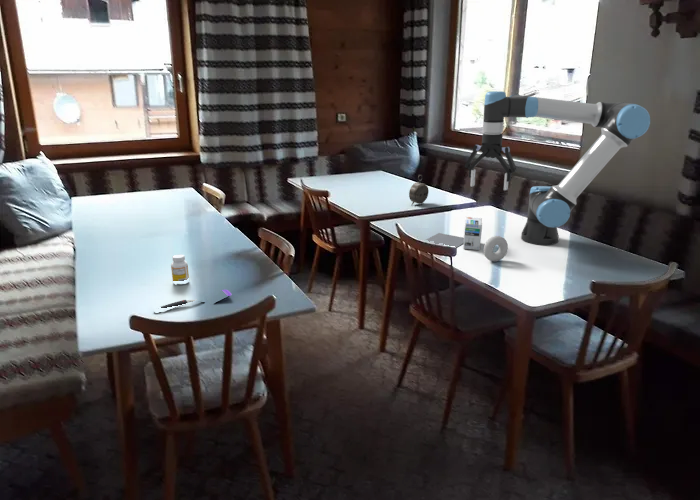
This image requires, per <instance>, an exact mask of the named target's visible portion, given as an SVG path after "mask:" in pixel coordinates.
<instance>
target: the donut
mask: <svg viewBox="0 0 700 500" xmlns="http://www.w3.org/2000/svg"><path fill="white" fill-rule="evenodd" d="M497 245H498V249H497V250H496V252H494V251H493V250H494V247H495V246H497ZM508 250H509V245H508V242H507V240H506V239H505V238H504V237H503V236H500V235H494V236H491V237H489V238H488V239H487V240H486V242H485V244H484V245H483V255H484V257H485V259H487V261H491V262H498V261H501V260H502V259H504V257H505V256H506V255H507V253H508Z"/></svg>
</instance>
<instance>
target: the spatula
mask: <svg viewBox="0 0 700 500" xmlns="http://www.w3.org/2000/svg"><path fill="white" fill-rule="evenodd" d="M222 291H223V292H224V293H225V294H226V295H227V296H230V297H231V296H232V295H233V294H232V292H231V291H230V290H228V289H222ZM195 300H196V299H195ZM195 300H193V299H182V300H178V301H175V302H172V303H168V304H165V305H161V306H160V307H161V308H167V307H172V306H178V305H182V304H185V305H186V303H187V304H188V303H193V301H195ZM182 306H183V305H182Z"/></svg>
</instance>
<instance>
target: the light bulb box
mask: <svg viewBox="0 0 700 500" xmlns="http://www.w3.org/2000/svg"><path fill="white" fill-rule="evenodd" d="M482 219H483V218H481V217H473V216H465V221H464V230H463V232H464V233H463V238H464V244H463V248H462V249H465V250H474V251H480V249H481V242H482V230H483V223H482Z"/></svg>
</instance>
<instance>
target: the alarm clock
mask: <svg viewBox="0 0 700 500" xmlns="http://www.w3.org/2000/svg"><path fill="white" fill-rule="evenodd" d="M420 176H421V177H423V175H422V174H418V177H417V182H414V183H413V184H412V185H411V187H410V188H409V190H408V191H409V192H408V195H409V196H408V197H409V200H410V201H411V206H413V205H414V203H415V204H419V205H421V206H423V204H424V202H425V201H426V200H427V199H428V197H429V187H428V185H427V184H426V183H423V182H422V180H423V178H421V179H420V178H419V177H420Z"/></svg>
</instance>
